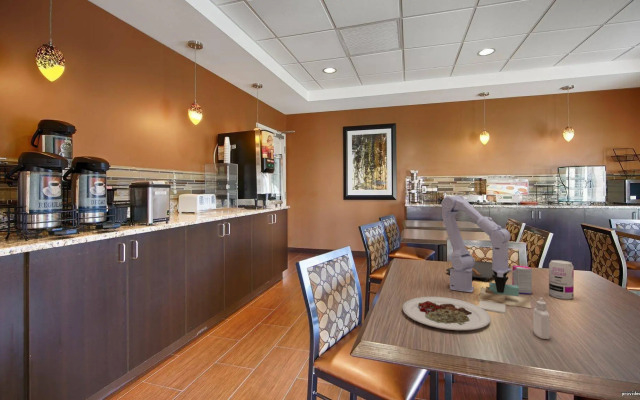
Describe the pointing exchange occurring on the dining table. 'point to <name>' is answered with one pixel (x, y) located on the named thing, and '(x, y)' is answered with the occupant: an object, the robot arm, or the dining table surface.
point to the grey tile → (492, 306)
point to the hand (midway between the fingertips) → (500, 289)
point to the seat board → (503, 299)
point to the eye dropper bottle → (541, 320)
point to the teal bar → (505, 289)
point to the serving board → (481, 269)
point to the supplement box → (522, 279)
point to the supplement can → (561, 279)
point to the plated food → (446, 313)
